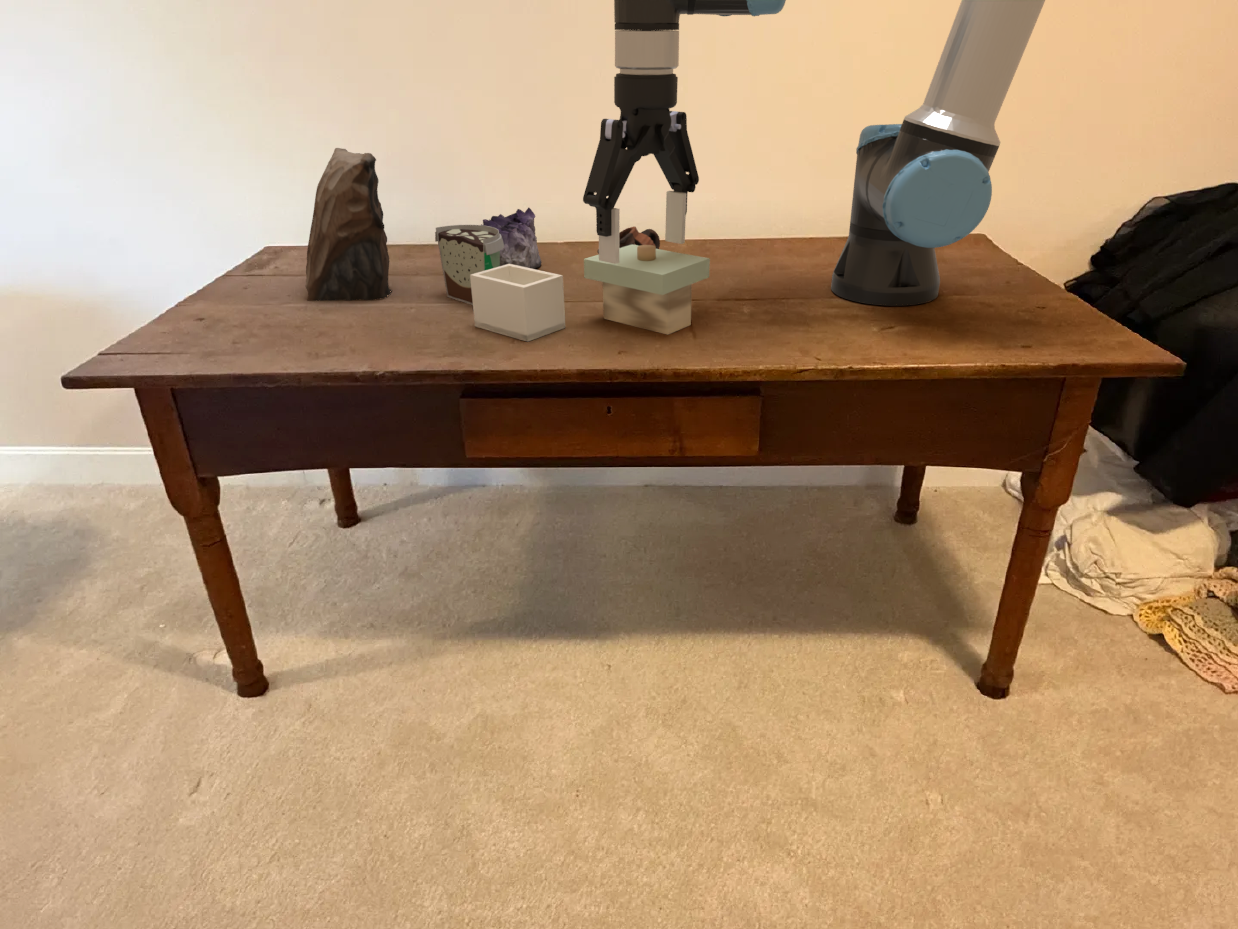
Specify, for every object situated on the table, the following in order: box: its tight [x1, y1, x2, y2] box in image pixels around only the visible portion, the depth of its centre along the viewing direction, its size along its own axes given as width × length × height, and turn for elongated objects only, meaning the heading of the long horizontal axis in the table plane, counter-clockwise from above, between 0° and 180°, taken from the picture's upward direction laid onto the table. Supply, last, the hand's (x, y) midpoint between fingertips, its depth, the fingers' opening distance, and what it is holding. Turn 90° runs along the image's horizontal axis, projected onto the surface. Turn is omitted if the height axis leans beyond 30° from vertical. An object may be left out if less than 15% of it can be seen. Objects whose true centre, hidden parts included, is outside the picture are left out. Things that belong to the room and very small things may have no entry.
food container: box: [434, 224, 504, 306], centre depth 125 cm, size 12×6×10 cm, turn 45°
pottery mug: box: [596, 226, 661, 255], centre depth 138 cm, size 12×10×8 cm
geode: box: [480, 207, 542, 269], centre depth 139 cm, size 20×12×10 cm, turn 173°
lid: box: [583, 244, 711, 295], centre depth 112 cm, size 13×10×4 cm
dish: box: [470, 264, 566, 343], centre depth 113 cm, size 10×7×7 cm
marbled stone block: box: [602, 282, 693, 336], centre depth 114 cm, size 11×5×6 cm, turn 50°
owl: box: [305, 147, 392, 302], centre depth 127 cm, size 13×13×20 cm
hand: (643, 251), depth 112 cm, fingers open, 13 cm apart
